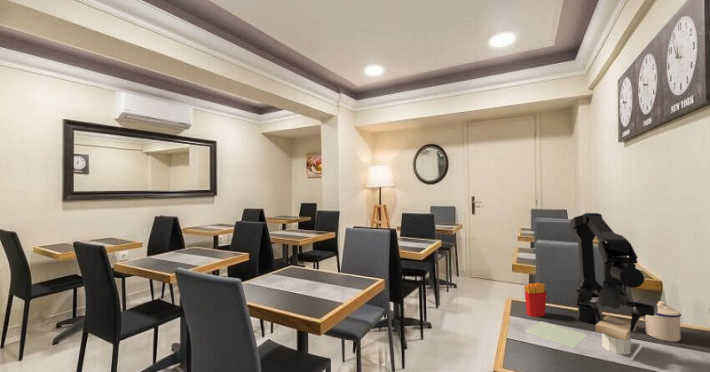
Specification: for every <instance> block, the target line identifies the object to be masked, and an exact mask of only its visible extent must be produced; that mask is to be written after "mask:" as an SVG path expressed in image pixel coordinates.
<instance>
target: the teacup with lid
mask: <svg viewBox="0 0 710 372" xmlns="http://www.w3.org/2000/svg"><path fill="white" fill-rule="evenodd" d="M656 304H657V306H658V312H657V313H656V314H655V316H650V315H646V316H642V318H643V320H644V322H645V324H644V325H645V333H646V335H648V336H650V337H651V338H655V339H657V340H660V341H665V342H672V343H676V342H679V341H681V316H682V313H681V312H680V311H679V310H677V309H675V308H673V307H671V306H669V305H667V303H666V302H665V301H661V300H659V301H658V302H657V303H656Z"/></svg>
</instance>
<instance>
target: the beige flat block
mask: <svg viewBox="0 0 710 372" xmlns="http://www.w3.org/2000/svg"><path fill="white" fill-rule="evenodd" d="M594 327H595V333H599V334H601V335H602V334H605V335H609V336H612V337H616V338H619V339H623V340H627V339H628V338H629V337H631V335H632V334H633V333H634V332H635V331H636V329H637V326H636V327H635V329H634V331H633V333H631V328H630V327H631V320H627V319H623V318H619V317H614V316H611V315H606V316H605V317H603V319H602V320H601V321H600V322H599V323H597V324H595V326H594Z"/></svg>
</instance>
